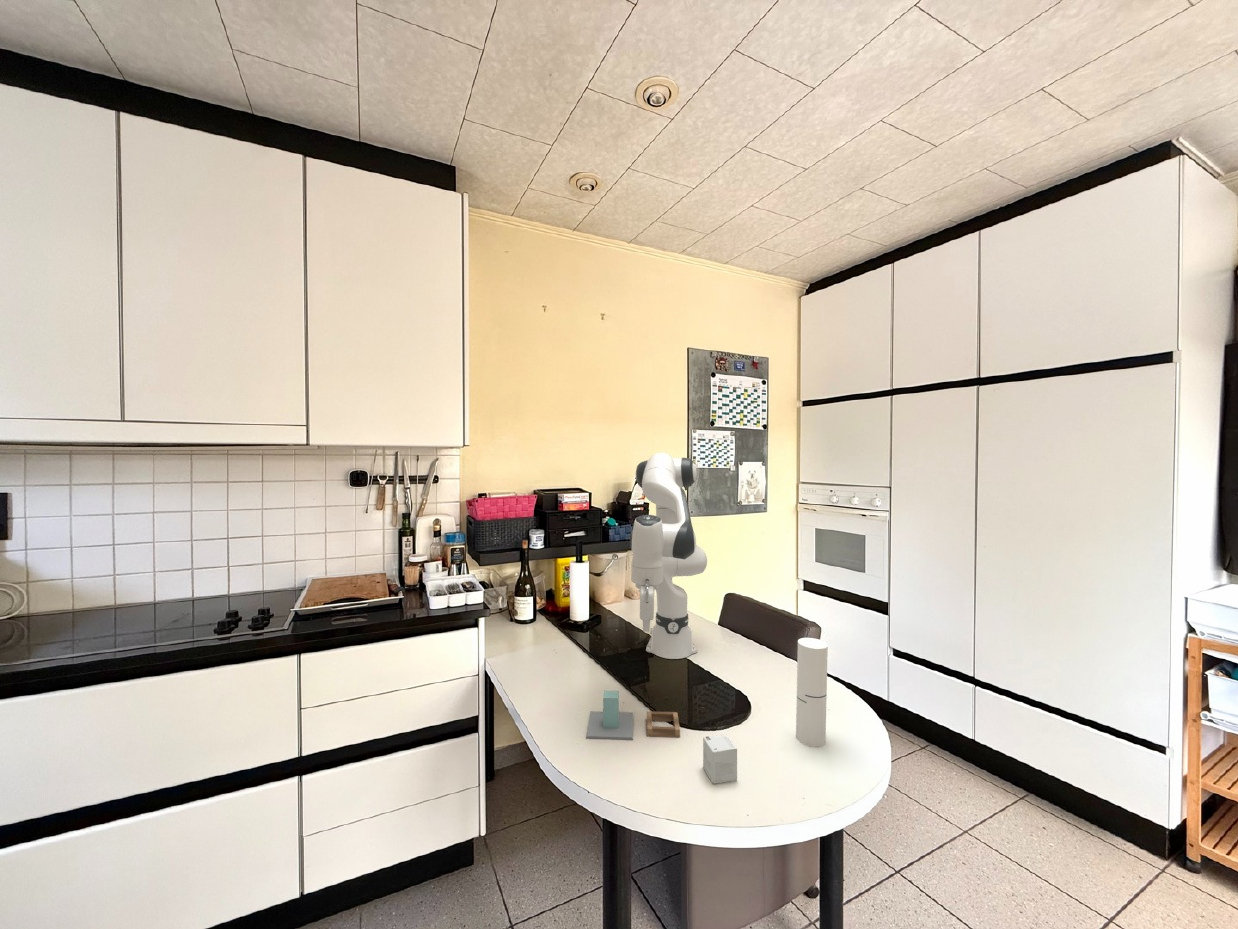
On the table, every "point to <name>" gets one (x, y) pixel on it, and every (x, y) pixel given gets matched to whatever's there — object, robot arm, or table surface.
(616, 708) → the teal block
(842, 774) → the table surface
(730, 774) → the skincare box
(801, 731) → the cylindrical container
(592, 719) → the mat
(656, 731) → the pocket
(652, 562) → the robot arm
